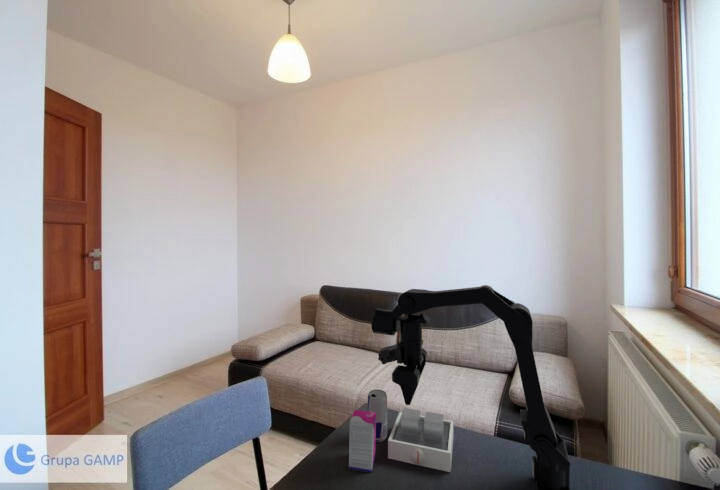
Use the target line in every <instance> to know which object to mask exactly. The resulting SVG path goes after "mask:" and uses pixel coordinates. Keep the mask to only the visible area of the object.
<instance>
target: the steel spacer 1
mask: <svg viewBox="0 0 720 490" xmlns="http://www.w3.org/2000/svg"><path fill="white" fill-rule="evenodd" d="M402 412H403V413H402V415H401V434H405V435H410V436H415V437H418V436H419V432H420V428H421V416H422V411H421V410H419V409H413V408H406V407H404V408H403V410H402Z"/></svg>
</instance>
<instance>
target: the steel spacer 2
mask: <svg viewBox="0 0 720 490" xmlns="http://www.w3.org/2000/svg"><path fill="white" fill-rule="evenodd" d="M424 416H425V419H424V438H426V439H431V440H436V441H441V442H442V440H443V433H444V420H445V414H443V413H436V412H432V411H426V412H425V415H424Z"/></svg>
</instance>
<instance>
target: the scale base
mask: <svg viewBox="0 0 720 490" xmlns="http://www.w3.org/2000/svg"><path fill="white" fill-rule="evenodd" d="M402 413H403V411H399V412H398V415H397V417H396V419H395V421H394V425H393V428H392V430H391V432H390V435H389V437H388V439H387V459H391V460H395V461H398V462H404V463H407V464H412V465H416V466H421V467H424V468H430V469H435V470H439V471H444V472H448V473H451V471H452V459H453V446H454V445H453V443H454V421H453V420H449V419H448V420H447V419H444V424H449V436H448V446H447V451H446V450H441V449H436V448H431V447H427V446H422V445H417V444H412V443H407V442H402V441H397V440H394V437H395V434H396V432H397V429H398V426H399V424H400V421H401V415H402ZM424 419H425V415H421V420H424Z"/></svg>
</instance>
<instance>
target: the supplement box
mask: <svg viewBox="0 0 720 490" xmlns="http://www.w3.org/2000/svg"><path fill="white" fill-rule="evenodd" d="M348 436H349V437H348V439H349V443H348V444H349V445H348V448H349V449H348V451H349V452H348V469H349V470H353V471H361V472H365V473H367V472H368V473H372V471H373V467H374V463H375V458H376V443H377V442H376V412H369V411H368V410H361V409H354V411H353V412H352V415H351V418H350V420H349V435H348Z"/></svg>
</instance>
